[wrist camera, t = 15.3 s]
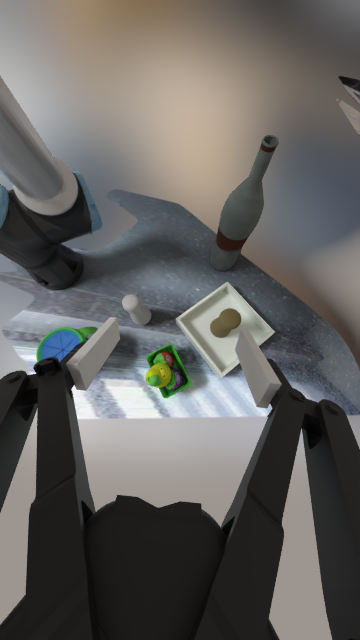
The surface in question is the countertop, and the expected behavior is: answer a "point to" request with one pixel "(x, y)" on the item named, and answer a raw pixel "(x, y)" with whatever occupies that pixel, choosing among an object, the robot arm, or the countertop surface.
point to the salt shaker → (136, 309)
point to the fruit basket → (167, 371)
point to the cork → (225, 323)
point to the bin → (223, 349)
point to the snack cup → (62, 342)
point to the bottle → (242, 211)
